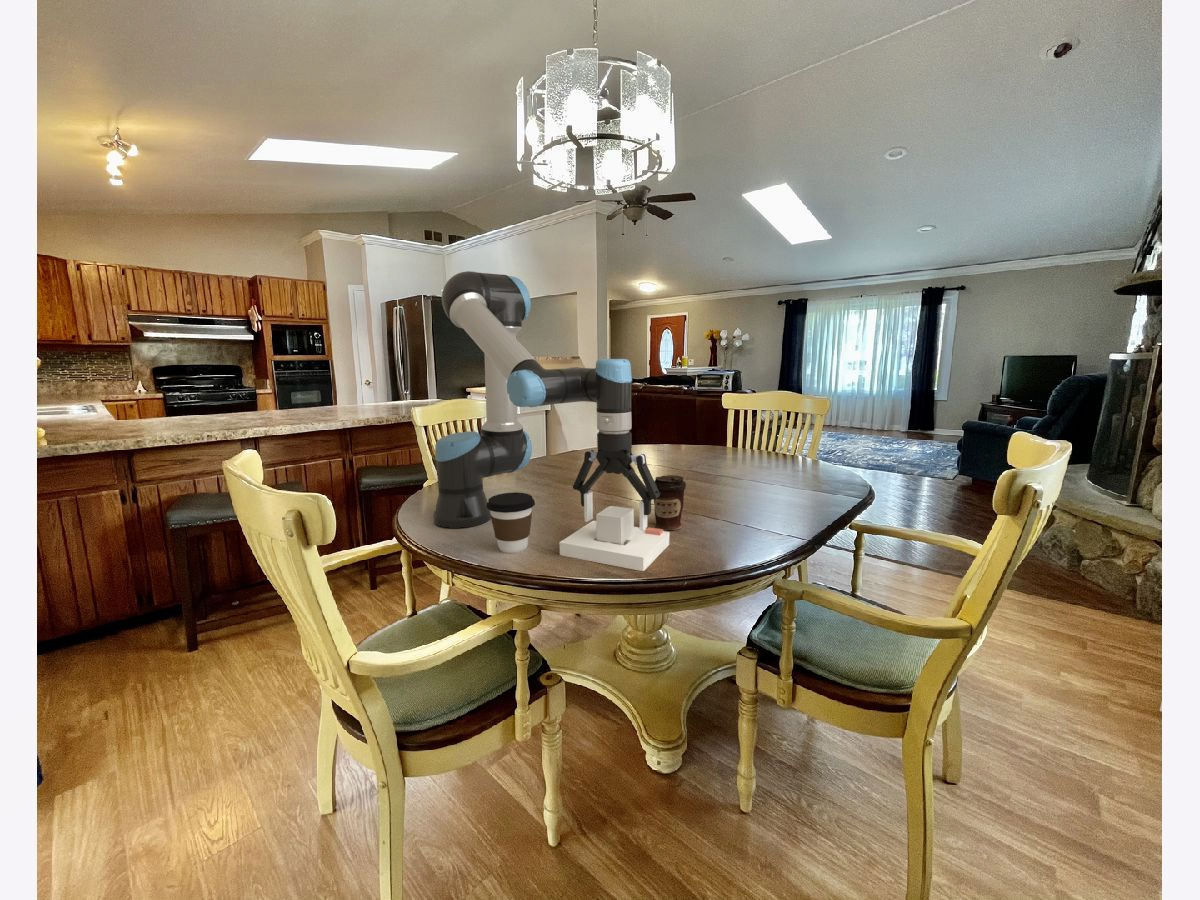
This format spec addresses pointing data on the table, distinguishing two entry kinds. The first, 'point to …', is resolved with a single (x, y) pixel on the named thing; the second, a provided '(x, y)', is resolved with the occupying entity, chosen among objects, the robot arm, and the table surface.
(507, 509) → the coffee cup
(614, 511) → the plug
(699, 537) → the table surface
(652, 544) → the socket plate
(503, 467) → the robot arm
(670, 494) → the coffee cup
